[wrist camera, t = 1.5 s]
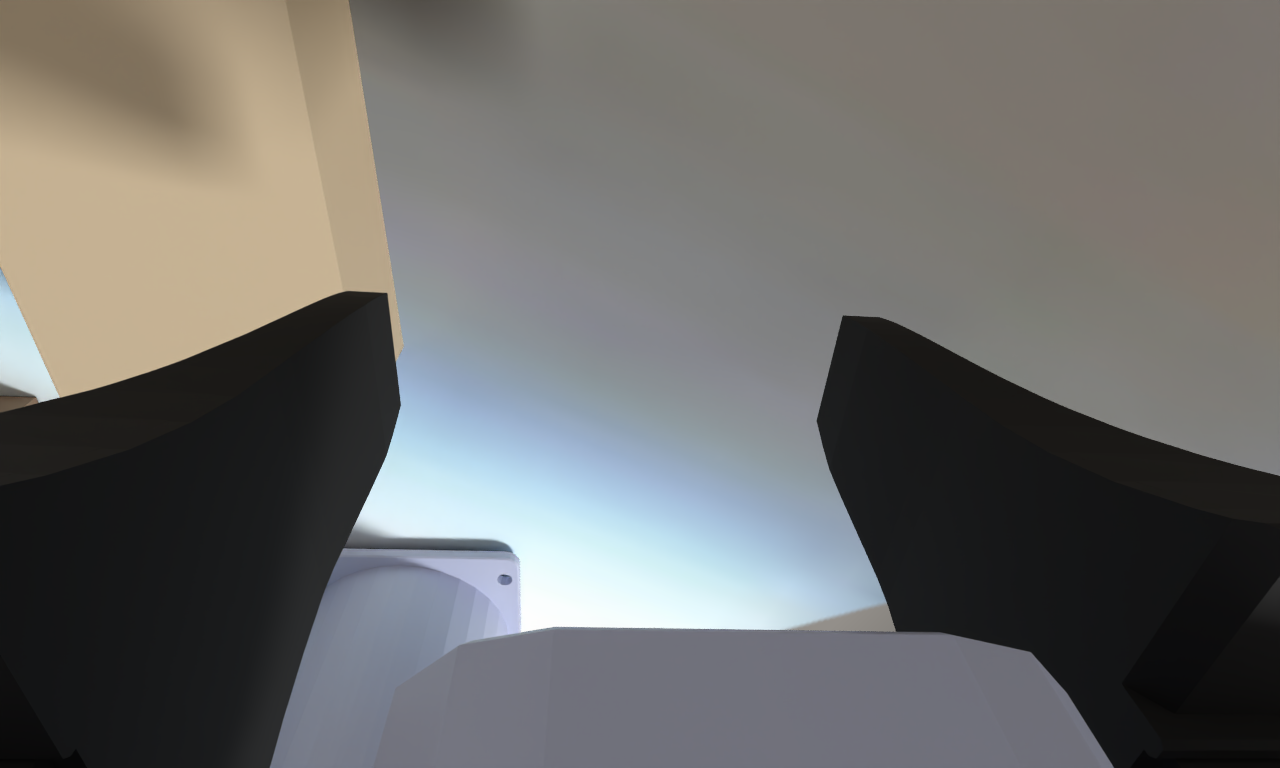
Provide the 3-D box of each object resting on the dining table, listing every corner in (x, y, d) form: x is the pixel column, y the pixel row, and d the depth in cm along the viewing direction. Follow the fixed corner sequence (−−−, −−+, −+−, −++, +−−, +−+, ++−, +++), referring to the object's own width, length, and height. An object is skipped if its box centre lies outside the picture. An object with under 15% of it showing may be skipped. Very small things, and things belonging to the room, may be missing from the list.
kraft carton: (406, 341, 21) (368, 415, 17) (158, 342, 20) (68, 417, 17) (351, -9, 16) (284, -4, 13) (31, -18, 16) (-128, -16, 12)
